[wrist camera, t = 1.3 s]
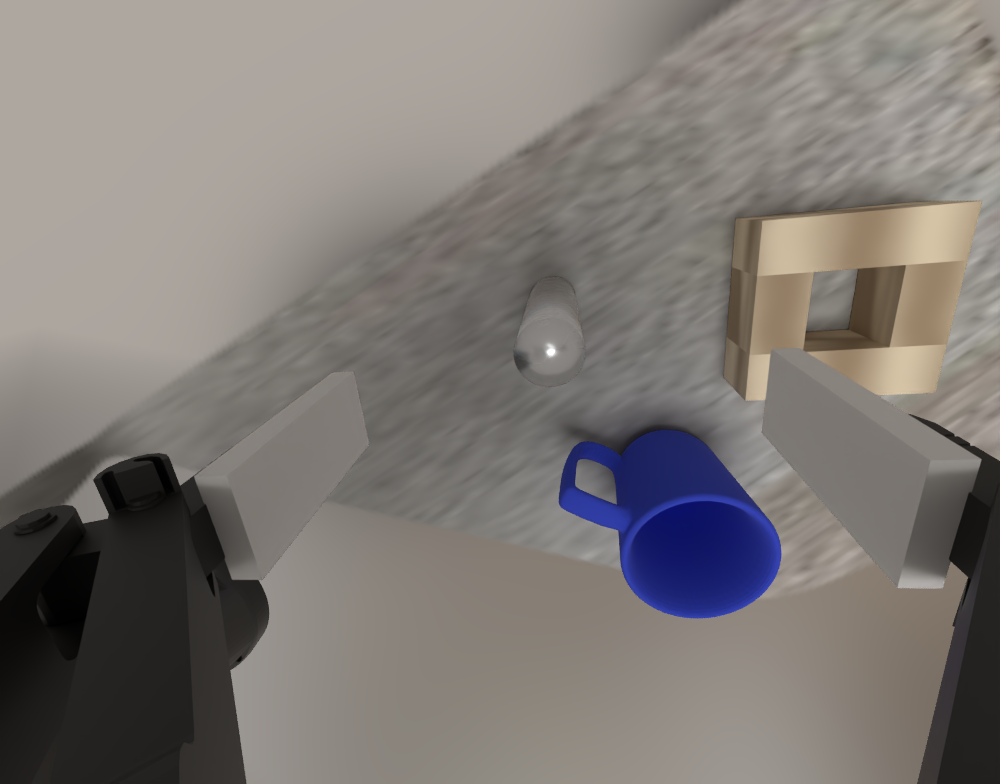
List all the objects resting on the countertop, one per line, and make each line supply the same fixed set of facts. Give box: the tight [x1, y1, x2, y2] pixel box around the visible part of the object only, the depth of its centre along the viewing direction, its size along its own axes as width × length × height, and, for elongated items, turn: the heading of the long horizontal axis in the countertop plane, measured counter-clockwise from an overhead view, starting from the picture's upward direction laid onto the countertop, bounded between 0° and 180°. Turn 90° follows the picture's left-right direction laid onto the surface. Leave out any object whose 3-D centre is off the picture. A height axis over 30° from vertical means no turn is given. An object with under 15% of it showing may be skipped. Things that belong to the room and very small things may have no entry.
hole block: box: [724, 201, 982, 401], centre depth 28 cm, size 10×10×4 cm
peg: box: [514, 277, 585, 387], centre depth 26 cm, size 3×3×12 cm
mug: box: [559, 430, 781, 618], centre depth 30 cm, size 8×12×10 cm
